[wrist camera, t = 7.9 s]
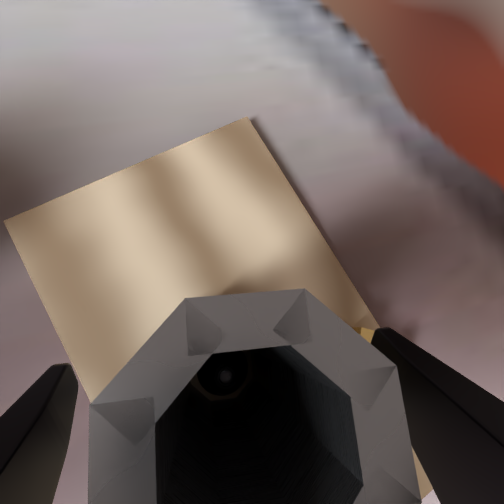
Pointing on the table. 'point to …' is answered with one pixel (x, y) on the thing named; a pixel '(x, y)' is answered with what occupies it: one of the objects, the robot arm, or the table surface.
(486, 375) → the table surface
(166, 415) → the grey octagonal tube
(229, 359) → the steel peg
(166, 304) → the gear board
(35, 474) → the robot arm
